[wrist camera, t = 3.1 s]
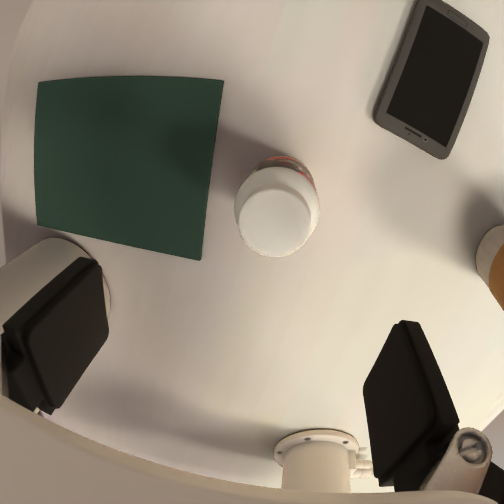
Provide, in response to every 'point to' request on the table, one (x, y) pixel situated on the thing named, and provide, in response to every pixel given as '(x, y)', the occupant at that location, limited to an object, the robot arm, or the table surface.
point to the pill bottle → (277, 207)
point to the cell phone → (433, 78)
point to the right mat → (127, 159)
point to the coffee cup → (492, 262)
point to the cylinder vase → (36, 274)
